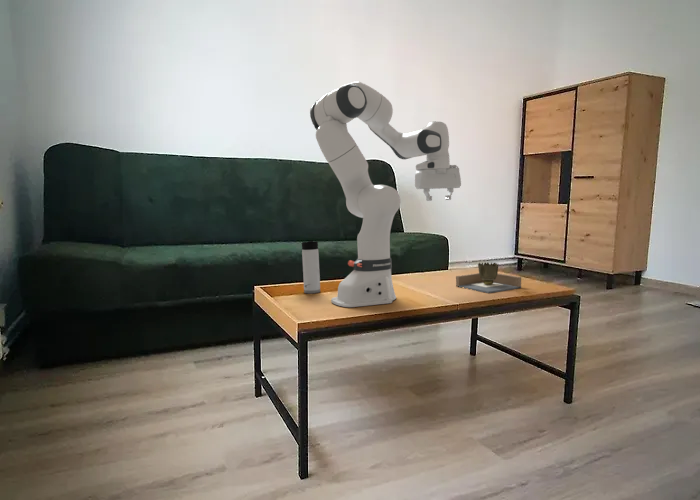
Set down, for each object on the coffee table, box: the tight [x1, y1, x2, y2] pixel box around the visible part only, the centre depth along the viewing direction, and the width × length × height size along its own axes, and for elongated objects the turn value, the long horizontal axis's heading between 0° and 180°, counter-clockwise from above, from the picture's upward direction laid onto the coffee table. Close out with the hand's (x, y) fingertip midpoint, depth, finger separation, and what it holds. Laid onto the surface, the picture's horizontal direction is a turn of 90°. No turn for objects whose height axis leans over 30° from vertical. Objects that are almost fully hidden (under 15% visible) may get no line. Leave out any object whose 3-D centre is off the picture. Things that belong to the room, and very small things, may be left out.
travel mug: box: [301, 240, 321, 295], centre depth 175 cm, size 6×7×20 cm
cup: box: [477, 262, 500, 285], centre depth 172 cm, size 8×7×8 cm
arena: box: [455, 272, 522, 294], centre depth 171 cm, size 16×17×4 cm
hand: (438, 200), depth 180 cm, fingers open, 8 cm apart
